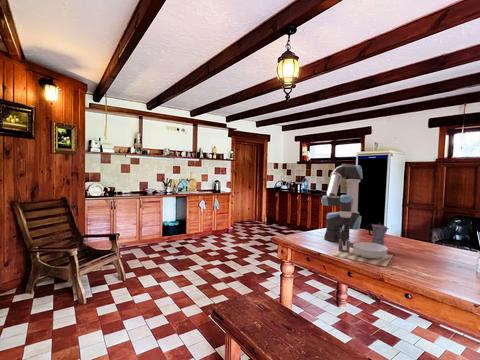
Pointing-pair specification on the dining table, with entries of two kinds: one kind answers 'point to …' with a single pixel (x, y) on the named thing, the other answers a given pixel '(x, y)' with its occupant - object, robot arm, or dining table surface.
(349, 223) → the robot arm
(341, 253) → the serving board
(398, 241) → the dining table surface
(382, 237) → the moka pot
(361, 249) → the serving bowl
